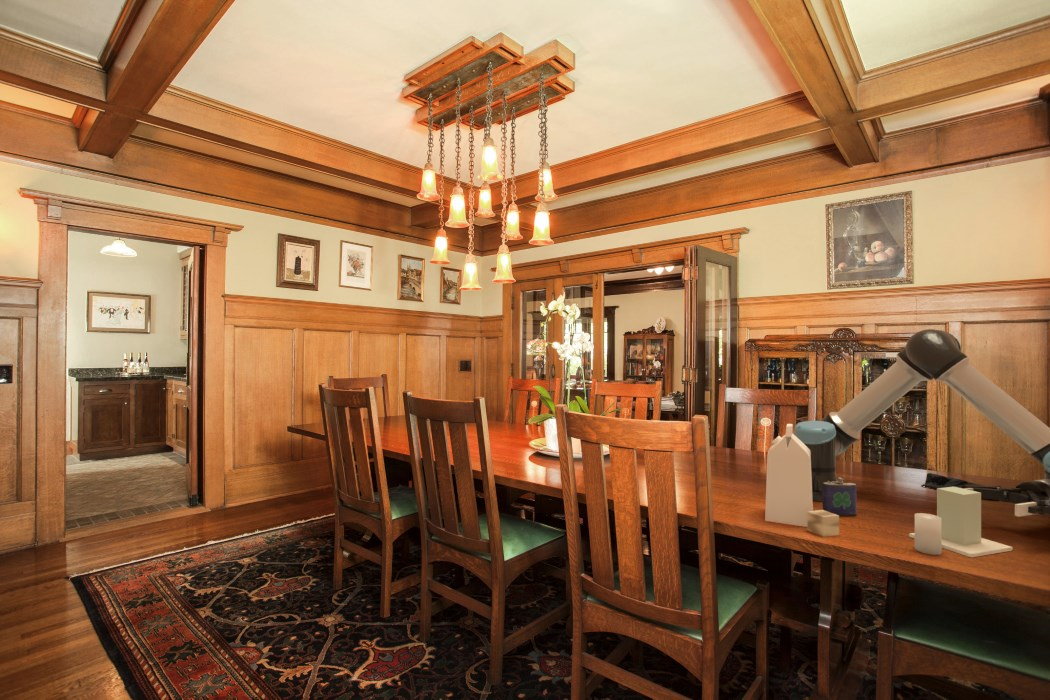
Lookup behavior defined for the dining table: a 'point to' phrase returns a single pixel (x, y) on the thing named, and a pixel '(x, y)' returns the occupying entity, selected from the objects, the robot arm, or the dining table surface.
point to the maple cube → (823, 523)
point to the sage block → (959, 515)
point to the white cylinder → (928, 534)
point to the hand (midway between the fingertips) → (983, 502)
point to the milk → (788, 481)
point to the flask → (839, 498)
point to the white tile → (974, 547)
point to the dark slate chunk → (945, 482)
